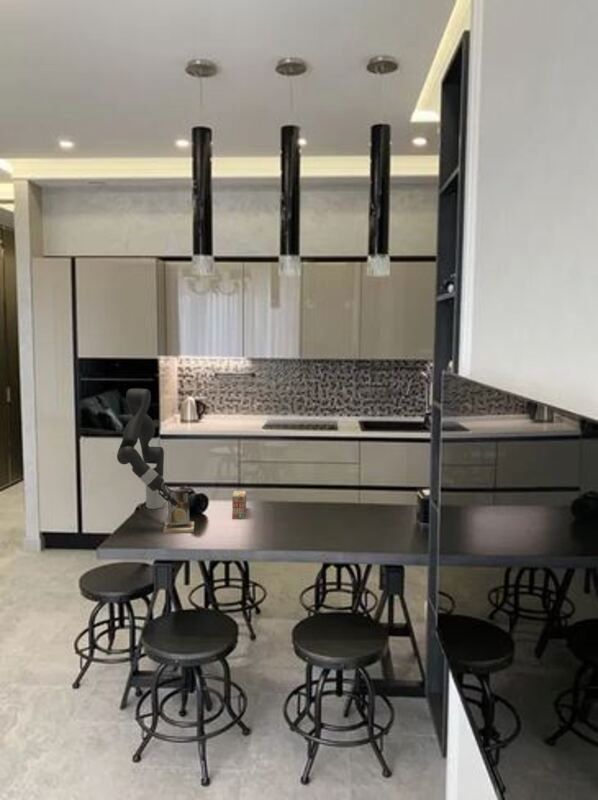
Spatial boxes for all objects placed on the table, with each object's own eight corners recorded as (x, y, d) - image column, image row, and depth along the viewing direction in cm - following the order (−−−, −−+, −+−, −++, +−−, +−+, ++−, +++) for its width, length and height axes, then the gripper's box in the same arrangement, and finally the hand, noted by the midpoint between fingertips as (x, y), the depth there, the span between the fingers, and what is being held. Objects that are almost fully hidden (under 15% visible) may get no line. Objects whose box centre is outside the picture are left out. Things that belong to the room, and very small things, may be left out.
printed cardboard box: (234, 508, 335) (234, 486, 334) (246, 508, 335) (246, 486, 334) (232, 519, 314) (232, 495, 313) (244, 519, 314) (244, 495, 313)
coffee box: (186, 520, 300) (186, 488, 299) (189, 523, 295) (189, 490, 294) (167, 522, 297) (167, 489, 296) (170, 525, 291) (170, 492, 290)
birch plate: (165, 525, 301) (165, 522, 301) (194, 524, 303) (194, 521, 303) (163, 533, 288) (163, 530, 287) (193, 532, 290) (193, 529, 290)
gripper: (156, 476, 285) (181, 501, 287) (158, 470, 299) (183, 493, 302) (144, 488, 284) (170, 512, 287) (147, 481, 299) (172, 504, 301)
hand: (176, 502), depth 294 cm, fingers closed on coffee box, 7 cm apart
